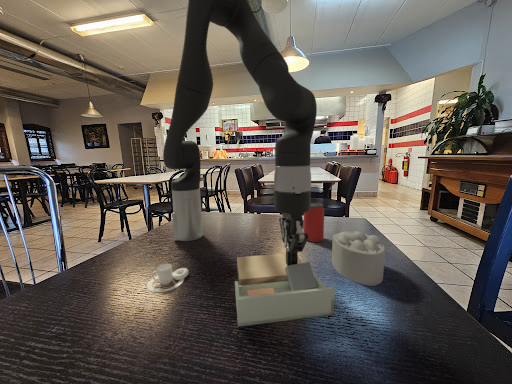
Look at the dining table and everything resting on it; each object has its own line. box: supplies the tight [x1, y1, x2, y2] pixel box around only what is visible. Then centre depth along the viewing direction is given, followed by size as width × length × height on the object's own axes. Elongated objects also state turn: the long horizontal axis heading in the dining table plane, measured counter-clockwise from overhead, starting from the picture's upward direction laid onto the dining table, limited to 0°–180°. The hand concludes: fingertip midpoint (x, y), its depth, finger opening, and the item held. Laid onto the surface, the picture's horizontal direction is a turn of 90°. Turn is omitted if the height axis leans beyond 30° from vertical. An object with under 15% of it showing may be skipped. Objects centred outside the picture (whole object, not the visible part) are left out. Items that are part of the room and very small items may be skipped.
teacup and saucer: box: [146, 263, 189, 293], centre depth 49 cm, size 9×8×4 cm
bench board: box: [236, 252, 303, 286], centre depth 51 cm, size 15×10×3 cm, turn 98°
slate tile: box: [285, 261, 318, 291], centre depth 45 cm, size 5×5×2 cm
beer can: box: [303, 202, 325, 243], centre depth 72 cm, size 7×7×12 cm
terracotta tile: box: [247, 288, 275, 296], centre depth 40 cm, size 5×5×2 cm
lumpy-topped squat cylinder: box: [331, 230, 386, 287], centre depth 52 cm, size 10×13×9 cm
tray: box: [234, 273, 336, 328], centre depth 41 cm, size 17×8×5 cm, turn 98°
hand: (291, 265), depth 48 cm, fingers closed
